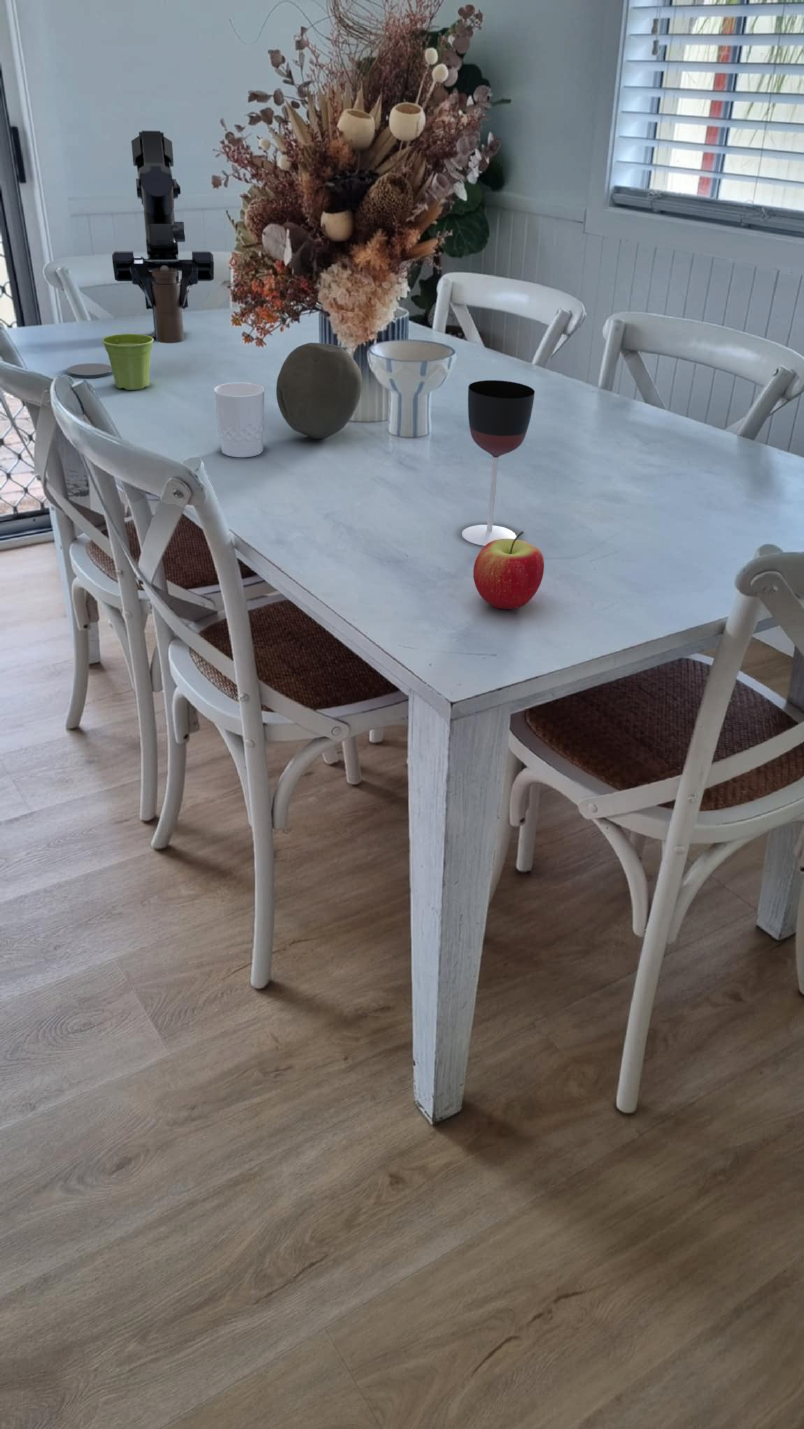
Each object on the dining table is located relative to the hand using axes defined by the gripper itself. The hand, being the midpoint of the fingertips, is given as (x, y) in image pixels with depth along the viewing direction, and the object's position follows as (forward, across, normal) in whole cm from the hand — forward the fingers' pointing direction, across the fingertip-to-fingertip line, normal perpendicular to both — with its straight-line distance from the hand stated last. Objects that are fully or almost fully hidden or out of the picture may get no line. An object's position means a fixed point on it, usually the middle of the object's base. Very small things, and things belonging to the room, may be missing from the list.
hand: (167, 305), depth 200 cm
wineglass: (+69, +40, -50) cm, 94 cm away
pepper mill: (+4, 0, +6) cm, 7 cm away
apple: (+83, +36, -65) cm, 112 cm away
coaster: (+6, -16, +13) cm, 21 cm away
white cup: (+41, +10, -23) cm, 48 cm away
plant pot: (+14, -8, +6) cm, 17 cm away
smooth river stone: (+37, +23, -18) cm, 47 cm away
